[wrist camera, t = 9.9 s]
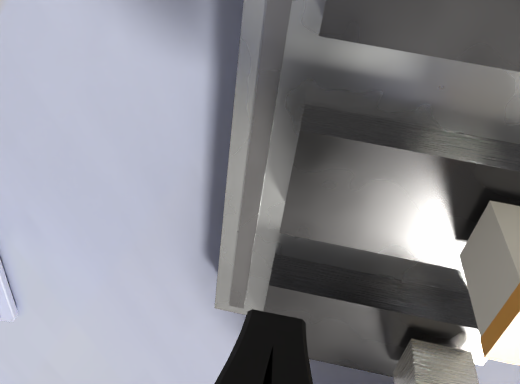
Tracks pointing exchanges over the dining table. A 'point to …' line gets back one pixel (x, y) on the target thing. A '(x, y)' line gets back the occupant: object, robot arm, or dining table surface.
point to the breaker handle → (495, 280)
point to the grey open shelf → (370, 174)
